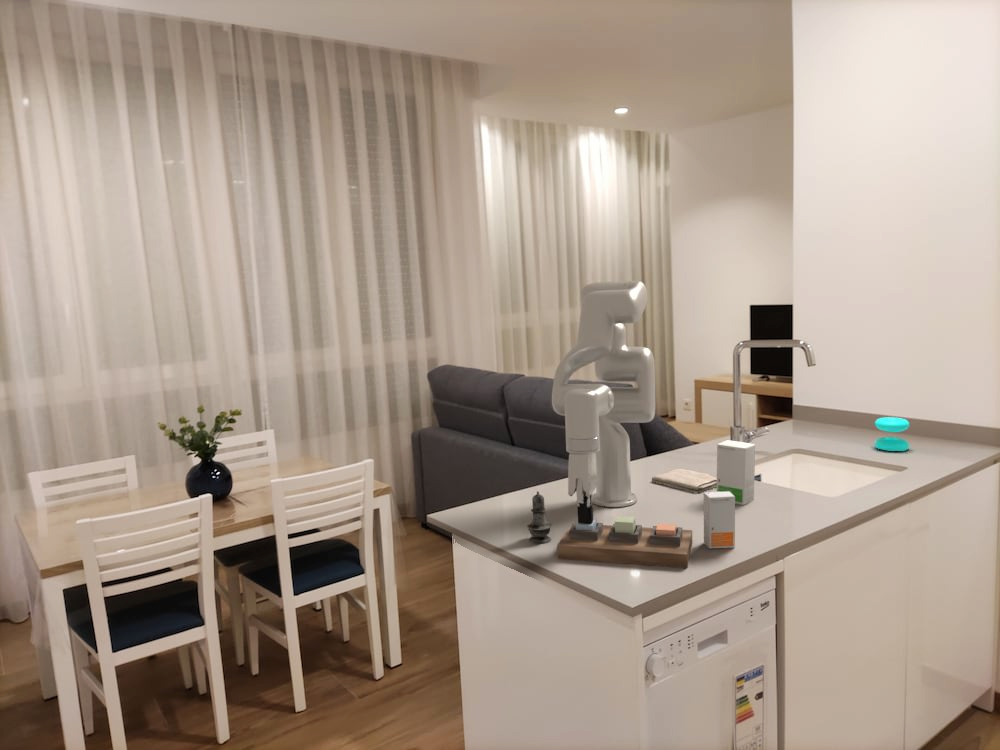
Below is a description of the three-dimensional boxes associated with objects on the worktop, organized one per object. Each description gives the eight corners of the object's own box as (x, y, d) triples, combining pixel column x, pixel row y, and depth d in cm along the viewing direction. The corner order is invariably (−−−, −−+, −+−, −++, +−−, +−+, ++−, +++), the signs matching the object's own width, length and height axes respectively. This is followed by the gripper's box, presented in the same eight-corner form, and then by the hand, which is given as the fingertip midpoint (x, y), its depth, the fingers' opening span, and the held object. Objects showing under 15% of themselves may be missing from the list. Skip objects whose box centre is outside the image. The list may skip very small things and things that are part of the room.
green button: (618, 526, 167) (617, 515, 166) (635, 527, 165) (635, 516, 165) (615, 532, 163) (614, 521, 163) (633, 533, 162) (632, 522, 161)
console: (572, 535, 176) (572, 515, 176) (692, 542, 167) (692, 521, 167) (557, 558, 162) (556, 536, 162) (687, 568, 153) (686, 545, 153)
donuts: (902, 423, 233) (870, 420, 240) (902, 454, 234) (869, 450, 242) (914, 418, 240) (881, 415, 247) (913, 448, 241) (881, 444, 248)
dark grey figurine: (551, 534, 177) (548, 486, 176) (553, 543, 172) (551, 494, 170) (526, 536, 177) (524, 488, 176) (528, 545, 171) (526, 495, 170)
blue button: (579, 529, 170) (579, 518, 170) (596, 530, 169) (596, 519, 168) (575, 535, 166) (575, 524, 166) (593, 536, 165) (592, 525, 164)
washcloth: (699, 496, 204) (699, 485, 203) (649, 483, 218) (649, 473, 217) (725, 487, 211) (725, 476, 210) (675, 475, 225) (675, 466, 225)
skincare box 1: (708, 549, 163) (708, 497, 161) (703, 542, 167) (702, 492, 166) (736, 548, 163) (735, 496, 161) (730, 541, 167) (729, 490, 166)
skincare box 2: (715, 500, 197) (714, 444, 195) (726, 494, 202) (726, 439, 200) (745, 505, 192) (744, 447, 190) (756, 499, 196) (755, 442, 194)
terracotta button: (658, 534, 164) (657, 523, 164) (676, 535, 163) (676, 524, 162) (656, 540, 160) (655, 529, 160) (674, 542, 159) (674, 530, 159)
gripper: (573, 436, 173) (576, 511, 175) (558, 451, 159) (561, 532, 161) (605, 437, 170) (607, 513, 173) (592, 452, 156) (595, 534, 159)
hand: (585, 522), depth 167 cm, fingers closed
